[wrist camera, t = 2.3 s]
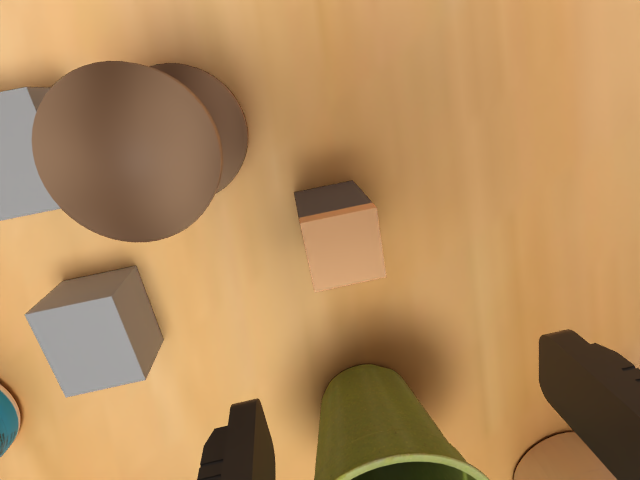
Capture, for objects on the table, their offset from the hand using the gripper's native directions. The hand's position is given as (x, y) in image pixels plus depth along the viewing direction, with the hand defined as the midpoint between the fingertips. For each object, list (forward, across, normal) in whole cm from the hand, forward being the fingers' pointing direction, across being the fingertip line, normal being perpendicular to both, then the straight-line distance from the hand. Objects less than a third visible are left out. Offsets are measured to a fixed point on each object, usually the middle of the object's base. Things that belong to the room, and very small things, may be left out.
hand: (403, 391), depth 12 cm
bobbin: (+18, +8, -7) cm, 21 cm away
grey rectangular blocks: (+18, +16, -2) cm, 24 cm away
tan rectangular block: (+18, 0, 0) cm, 18 cm away
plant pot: (+18, 0, +16) cm, 24 cm away
